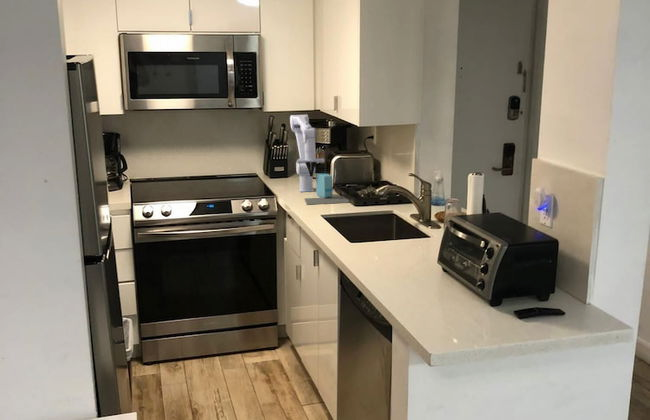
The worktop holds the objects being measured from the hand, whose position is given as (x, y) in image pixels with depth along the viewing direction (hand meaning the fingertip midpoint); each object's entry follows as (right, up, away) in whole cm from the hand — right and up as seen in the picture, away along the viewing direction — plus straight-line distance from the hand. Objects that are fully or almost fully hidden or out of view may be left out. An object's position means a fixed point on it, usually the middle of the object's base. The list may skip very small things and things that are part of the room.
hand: (311, 176), depth 359 cm
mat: (+8, -13, -11) cm, 19 cm away
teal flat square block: (+7, -11, -2) cm, 13 cm away
